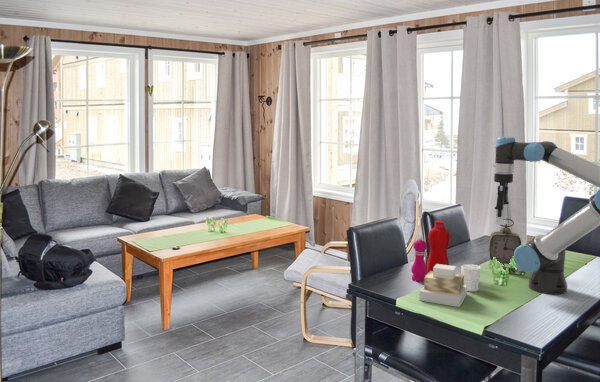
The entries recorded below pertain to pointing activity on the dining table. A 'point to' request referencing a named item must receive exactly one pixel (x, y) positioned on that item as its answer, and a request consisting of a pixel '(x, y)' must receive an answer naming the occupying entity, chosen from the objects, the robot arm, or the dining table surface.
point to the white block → (444, 271)
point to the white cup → (471, 276)
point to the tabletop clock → (503, 244)
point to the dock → (443, 297)
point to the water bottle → (438, 245)
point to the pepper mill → (419, 260)
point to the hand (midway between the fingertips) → (501, 221)
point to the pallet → (444, 283)
